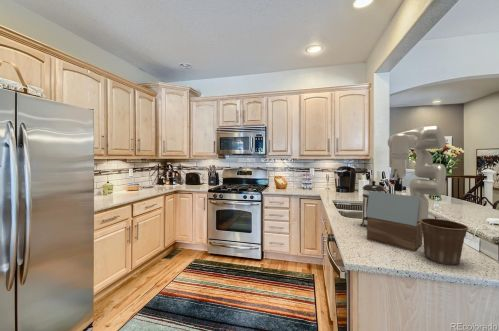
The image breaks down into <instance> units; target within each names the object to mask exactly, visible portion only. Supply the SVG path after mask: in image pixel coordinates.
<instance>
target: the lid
mask: <svg viewBox="0 0 499 331" xmlns="http://www.w3.org/2000/svg"><path fill="white" fill-rule="evenodd" d="M419 202H420V197H417V196H411V195H406V194H398V193H387V192H384V193H381V192H372V191H369V198H368V205H367V213H366V217H371V218H376V219H381V220H387V221H392V222H397V223H403V224H408V225H413V226H417V221H418V211H419Z"/></svg>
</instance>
